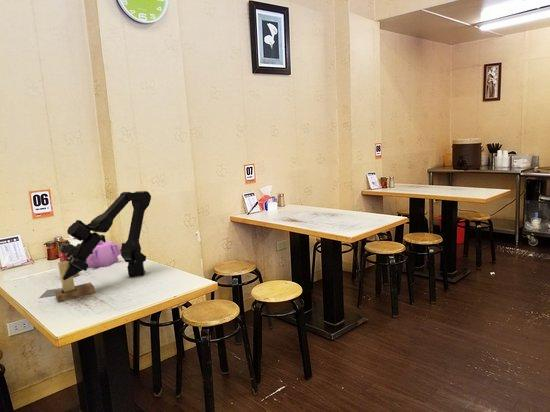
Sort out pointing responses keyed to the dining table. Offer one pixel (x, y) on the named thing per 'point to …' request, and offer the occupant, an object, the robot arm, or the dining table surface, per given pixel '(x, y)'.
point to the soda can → (63, 258)
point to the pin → (68, 283)
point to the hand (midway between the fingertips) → (63, 278)
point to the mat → (49, 293)
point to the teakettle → (104, 255)
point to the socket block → (75, 292)
